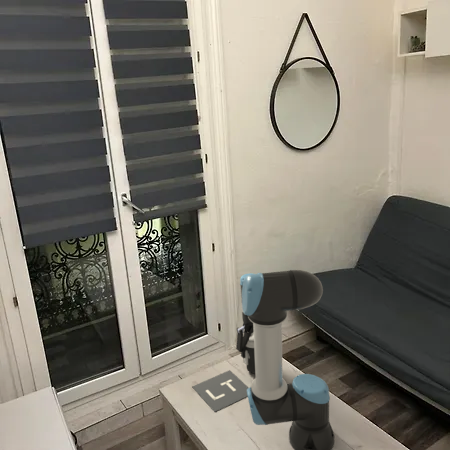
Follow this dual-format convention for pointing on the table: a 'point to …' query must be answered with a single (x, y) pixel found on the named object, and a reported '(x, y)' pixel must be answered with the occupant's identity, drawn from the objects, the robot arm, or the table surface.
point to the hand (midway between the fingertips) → (254, 359)
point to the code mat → (222, 390)
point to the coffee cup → (251, 354)
